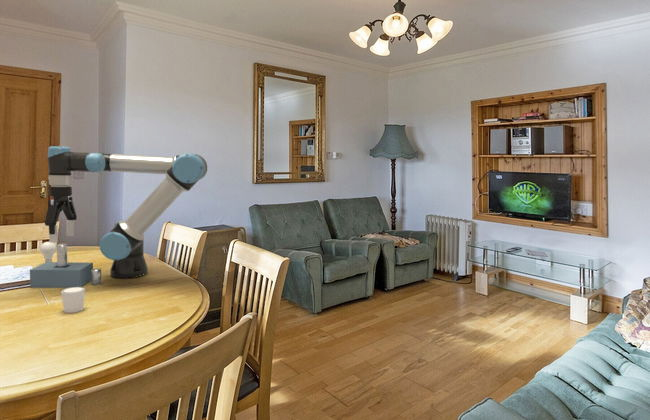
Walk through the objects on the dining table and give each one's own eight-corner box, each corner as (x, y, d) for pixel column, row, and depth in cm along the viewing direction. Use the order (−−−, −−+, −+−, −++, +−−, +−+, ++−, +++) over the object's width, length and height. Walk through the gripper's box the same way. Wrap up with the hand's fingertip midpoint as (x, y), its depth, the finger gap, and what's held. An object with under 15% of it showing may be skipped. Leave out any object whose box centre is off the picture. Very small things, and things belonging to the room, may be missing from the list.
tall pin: (69, 281, 166) (68, 243, 165) (65, 284, 163) (64, 245, 161) (60, 281, 166) (59, 243, 164) (55, 284, 163) (54, 245, 161)
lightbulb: (39, 267, 185) (38, 243, 184) (41, 263, 191) (40, 240, 189) (56, 266, 188) (55, 242, 187) (57, 262, 194) (56, 240, 192)
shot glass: (79, 304, 142) (79, 285, 142) (89, 309, 138) (88, 289, 138) (57, 309, 137) (57, 289, 136) (67, 315, 133) (66, 294, 132)
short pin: (102, 282, 167) (102, 268, 167) (99, 285, 164) (99, 270, 163) (93, 282, 167) (93, 268, 166) (90, 285, 164) (89, 270, 163)
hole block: (93, 278, 172) (92, 262, 171) (80, 287, 160) (79, 270, 159) (46, 278, 169) (46, 262, 168) (30, 287, 157) (29, 269, 157)
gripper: (65, 183, 172) (67, 233, 174) (32, 187, 147) (34, 245, 150) (84, 184, 173) (86, 233, 175) (54, 188, 148) (56, 245, 151)
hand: (62, 239), depth 163 cm, fingers open, 13 cm apart
